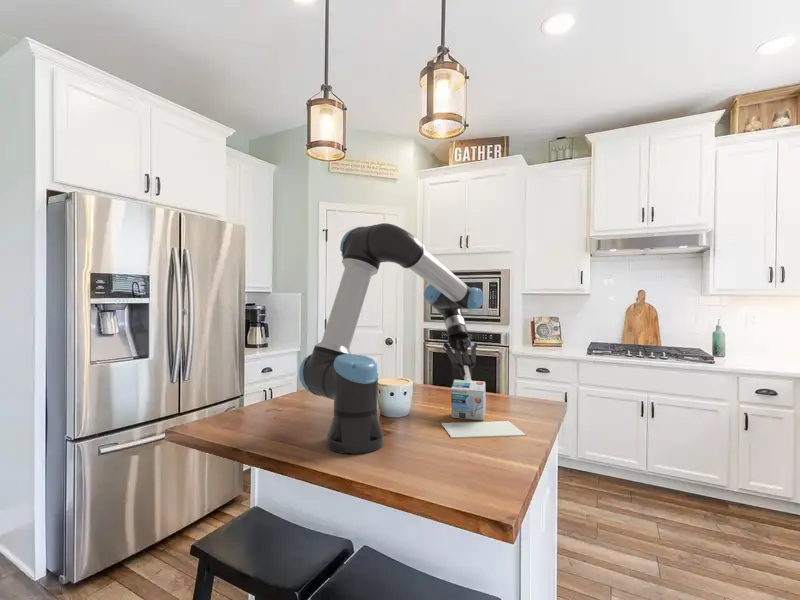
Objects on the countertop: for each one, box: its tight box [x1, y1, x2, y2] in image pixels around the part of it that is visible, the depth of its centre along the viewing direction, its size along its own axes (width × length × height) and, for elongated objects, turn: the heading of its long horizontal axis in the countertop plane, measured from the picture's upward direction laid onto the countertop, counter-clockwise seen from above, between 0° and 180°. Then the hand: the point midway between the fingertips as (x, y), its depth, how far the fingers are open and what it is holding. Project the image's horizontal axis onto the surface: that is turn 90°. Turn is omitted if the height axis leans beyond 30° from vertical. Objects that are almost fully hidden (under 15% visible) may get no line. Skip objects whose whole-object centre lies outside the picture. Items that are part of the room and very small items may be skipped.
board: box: [441, 420, 527, 439], centre depth 125 cm, size 22×13×1 cm, turn 97°
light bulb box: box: [450, 379, 487, 422], centre depth 136 cm, size 11×7×11 cm, turn 73°
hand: (468, 383), depth 140 cm, fingers closed
